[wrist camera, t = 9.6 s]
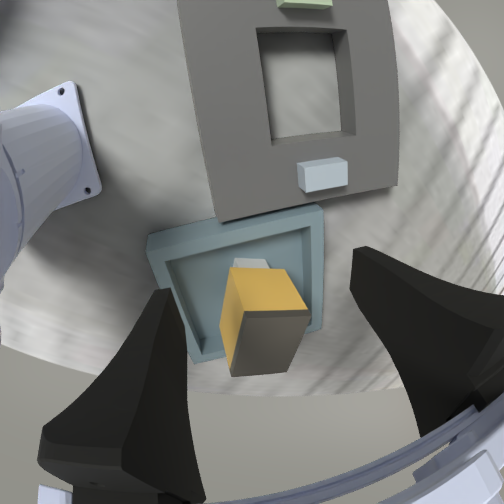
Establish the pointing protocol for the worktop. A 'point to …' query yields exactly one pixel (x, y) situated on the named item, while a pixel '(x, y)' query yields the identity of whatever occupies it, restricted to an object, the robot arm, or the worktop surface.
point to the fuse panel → (255, 108)
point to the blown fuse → (261, 319)
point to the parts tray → (222, 258)
